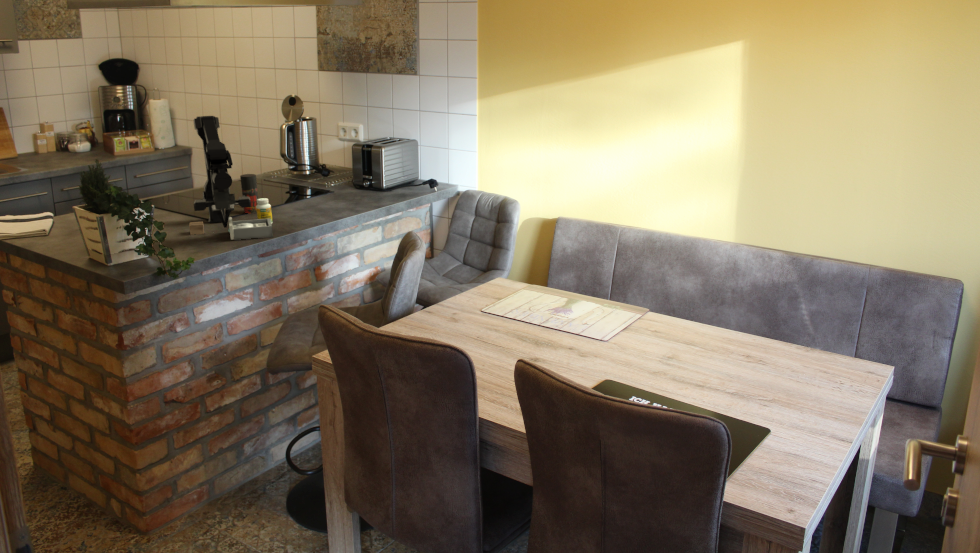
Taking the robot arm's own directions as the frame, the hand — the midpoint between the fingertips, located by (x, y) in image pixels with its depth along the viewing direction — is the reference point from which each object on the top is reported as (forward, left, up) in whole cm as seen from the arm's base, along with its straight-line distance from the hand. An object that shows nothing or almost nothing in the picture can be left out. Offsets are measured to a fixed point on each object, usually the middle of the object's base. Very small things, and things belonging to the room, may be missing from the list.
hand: (225, 227), depth 258 cm
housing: (0, +9, -4) cm, 10 cm away
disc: (0, +6, -2) cm, 6 cm away
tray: (0, +7, -3) cm, 8 cm away
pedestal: (-9, -10, -4) cm, 14 cm away
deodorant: (-35, +10, -4) cm, 37 cm away
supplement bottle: (-14, +14, -4) cm, 20 cm away
